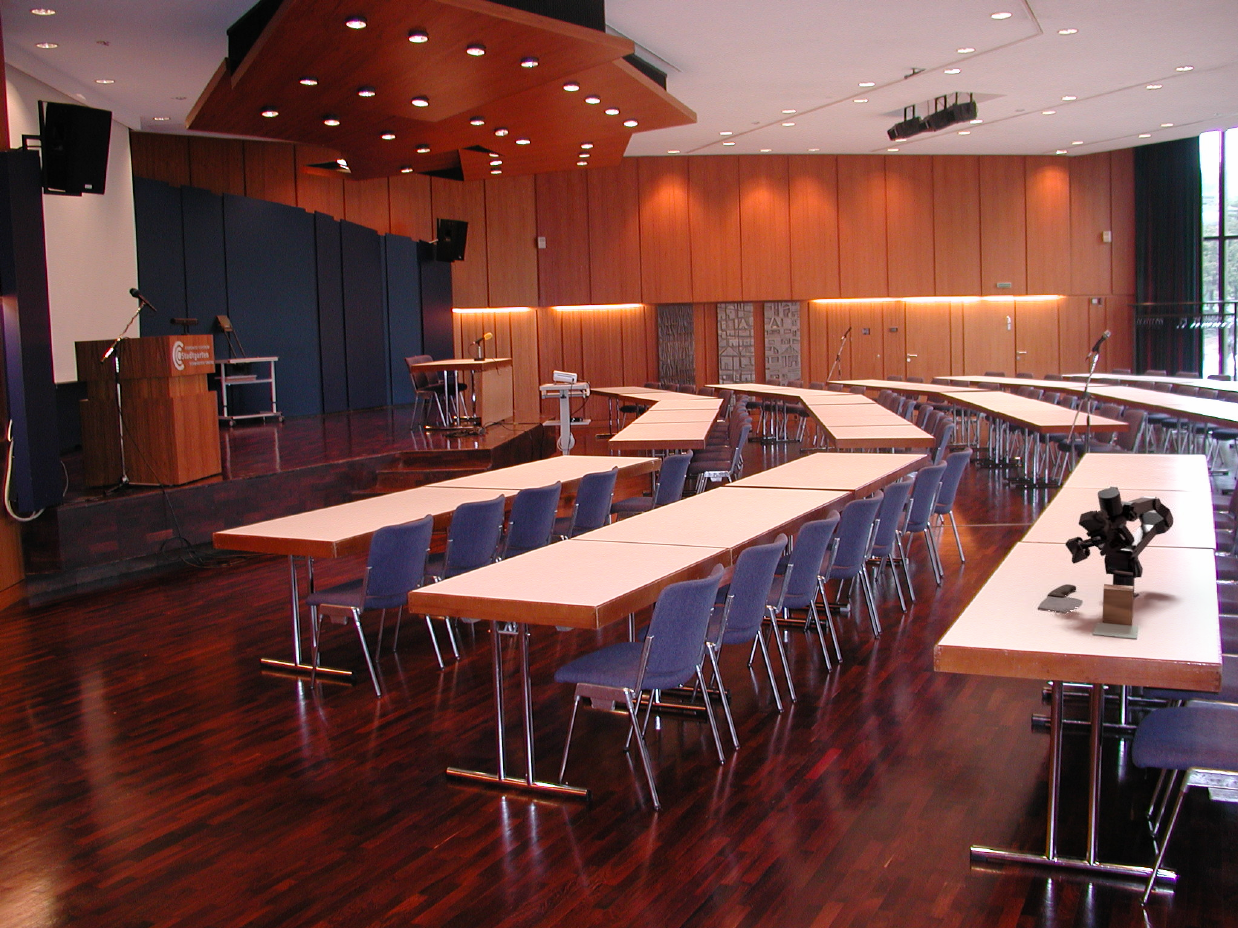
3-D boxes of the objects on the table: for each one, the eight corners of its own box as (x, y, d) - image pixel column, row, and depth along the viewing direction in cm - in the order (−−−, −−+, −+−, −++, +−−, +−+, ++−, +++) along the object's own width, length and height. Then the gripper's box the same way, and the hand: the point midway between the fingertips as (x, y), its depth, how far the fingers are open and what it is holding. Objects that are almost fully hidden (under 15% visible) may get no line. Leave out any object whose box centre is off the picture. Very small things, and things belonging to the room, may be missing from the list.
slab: (1103, 620, 279) (1104, 583, 277) (1132, 623, 275) (1133, 586, 274) (1102, 623, 276) (1103, 586, 275) (1131, 626, 273) (1133, 588, 272)
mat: (1096, 623, 276) (1096, 622, 276) (1138, 627, 271) (1138, 626, 271) (1092, 634, 265) (1092, 633, 265) (1136, 639, 261) (1136, 638, 260)
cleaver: (1057, 589, 315) (1057, 582, 315) (1092, 592, 310) (1092, 585, 310) (1035, 612, 291) (1035, 604, 291) (1073, 616, 286) (1073, 608, 285)
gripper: (1066, 514, 303) (1043, 543, 294) (1122, 496, 287) (1099, 526, 279) (1088, 545, 303) (1065, 574, 294) (1145, 529, 288) (1122, 559, 279)
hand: (1086, 558), depth 287 cm, fingers open, 9 cm apart
